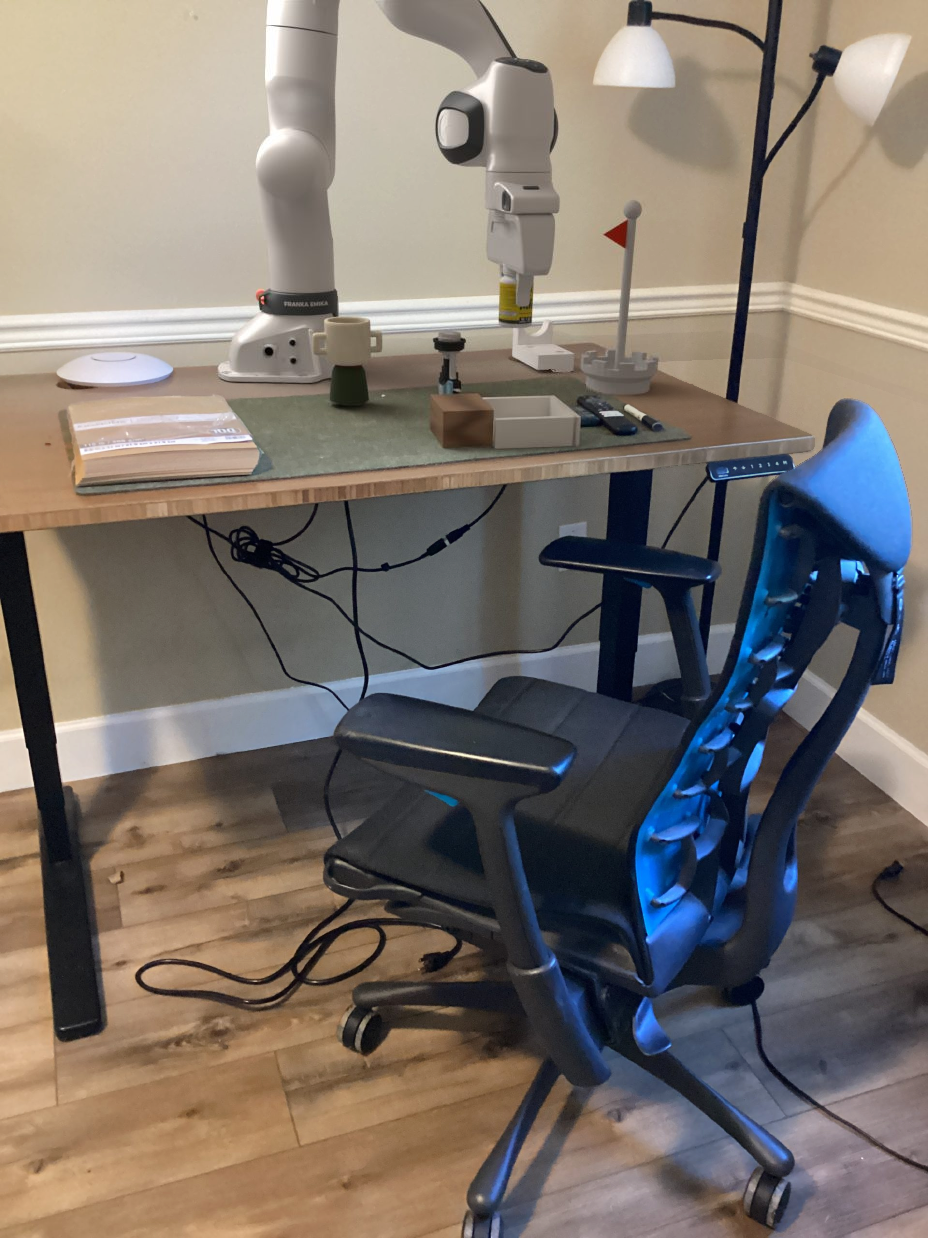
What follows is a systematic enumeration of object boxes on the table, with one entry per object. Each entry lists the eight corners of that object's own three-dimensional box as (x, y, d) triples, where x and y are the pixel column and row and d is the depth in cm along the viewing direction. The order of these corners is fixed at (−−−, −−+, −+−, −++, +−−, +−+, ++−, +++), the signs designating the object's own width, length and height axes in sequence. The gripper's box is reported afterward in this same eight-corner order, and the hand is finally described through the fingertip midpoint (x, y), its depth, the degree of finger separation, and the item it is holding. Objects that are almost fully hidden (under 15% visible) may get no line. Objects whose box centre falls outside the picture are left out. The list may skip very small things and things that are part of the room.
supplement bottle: (522, 329, 140) (524, 265, 136) (492, 326, 142) (493, 263, 139) (537, 324, 144) (540, 262, 140) (508, 321, 146) (510, 259, 142)
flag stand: (627, 377, 183) (643, 197, 170) (670, 392, 172) (691, 202, 160) (565, 382, 178) (577, 197, 165) (605, 398, 167) (621, 202, 154)
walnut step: (442, 447, 139) (443, 411, 137) (429, 428, 148) (430, 394, 145) (492, 445, 140) (493, 409, 138) (476, 427, 149) (477, 393, 147)
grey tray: (495, 448, 139) (496, 419, 137) (474, 424, 150) (475, 397, 149) (578, 445, 141) (580, 417, 139) (552, 421, 153) (554, 395, 151)
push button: (473, 399, 165) (475, 336, 161) (443, 401, 163) (444, 338, 159) (456, 390, 170) (457, 329, 166) (427, 392, 168) (427, 331, 164)
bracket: (512, 361, 195) (513, 320, 192) (546, 359, 197) (548, 319, 194) (537, 375, 184) (539, 332, 181) (573, 373, 186) (575, 330, 183)
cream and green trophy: (377, 397, 164) (376, 314, 159) (388, 408, 158) (387, 322, 153) (310, 401, 161) (307, 317, 156) (319, 412, 155) (316, 324, 149)
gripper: (476, 191, 144) (475, 292, 150) (516, 199, 126) (513, 314, 132) (519, 191, 145) (516, 291, 151) (564, 199, 127) (559, 312, 133)
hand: (515, 302), depth 142 cm, fingers closed on supplement bottle, 5 cm apart
